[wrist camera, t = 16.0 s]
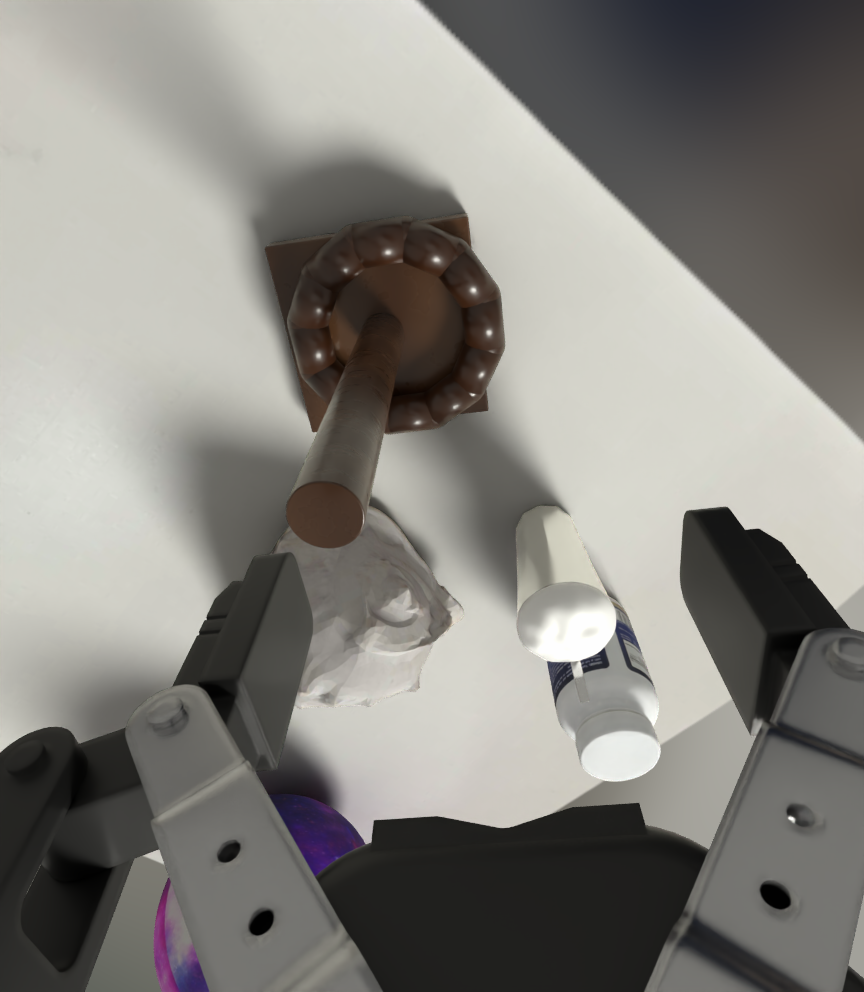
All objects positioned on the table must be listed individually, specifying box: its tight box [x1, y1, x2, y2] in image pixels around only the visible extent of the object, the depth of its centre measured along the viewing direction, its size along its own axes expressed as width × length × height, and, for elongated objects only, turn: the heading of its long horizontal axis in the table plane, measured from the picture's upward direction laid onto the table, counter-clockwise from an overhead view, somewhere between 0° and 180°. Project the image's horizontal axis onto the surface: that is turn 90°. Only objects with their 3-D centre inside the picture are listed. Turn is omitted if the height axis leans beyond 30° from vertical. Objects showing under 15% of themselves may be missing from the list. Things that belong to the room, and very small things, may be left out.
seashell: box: [271, 506, 464, 709], centre depth 35 cm, size 12×14×10 cm
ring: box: [287, 216, 505, 434], centre depth 29 cm, size 10×10×2 cm
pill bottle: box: [547, 597, 660, 781], centre depth 36 cm, size 5×5×10 cm
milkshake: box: [516, 505, 616, 703], centre depth 32 cm, size 4×5×10 cm
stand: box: [265, 213, 488, 548], centre depth 23 cm, size 9×9×17 cm
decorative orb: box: [154, 794, 366, 992], centre depth 44 cm, size 15×15×15 cm
